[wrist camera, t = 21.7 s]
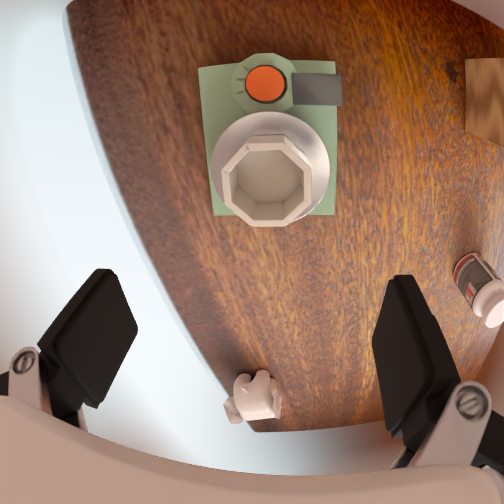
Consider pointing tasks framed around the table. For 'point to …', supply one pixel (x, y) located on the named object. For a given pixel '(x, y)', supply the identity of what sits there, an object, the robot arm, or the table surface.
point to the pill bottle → (481, 288)
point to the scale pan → (286, 132)
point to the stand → (485, 98)
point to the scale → (242, 103)
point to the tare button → (265, 83)
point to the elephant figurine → (253, 398)
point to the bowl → (267, 181)
